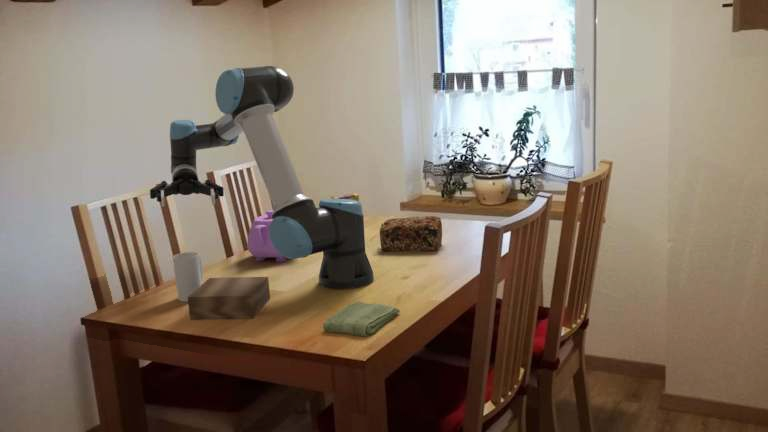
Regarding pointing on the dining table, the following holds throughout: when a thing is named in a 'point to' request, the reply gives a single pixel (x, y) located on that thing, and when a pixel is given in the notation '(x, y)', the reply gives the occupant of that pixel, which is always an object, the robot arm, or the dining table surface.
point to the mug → (187, 273)
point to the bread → (411, 234)
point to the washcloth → (360, 318)
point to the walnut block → (229, 298)
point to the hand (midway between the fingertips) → (188, 201)
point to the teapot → (262, 239)
